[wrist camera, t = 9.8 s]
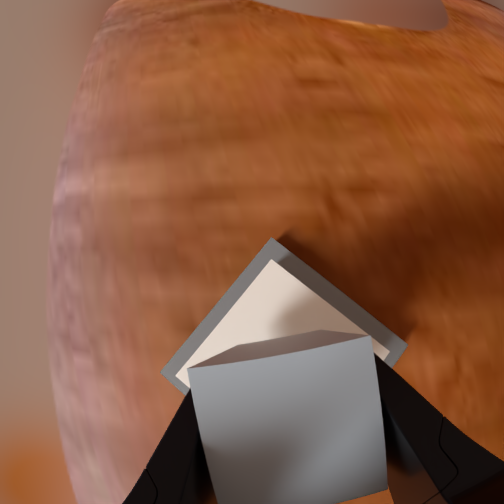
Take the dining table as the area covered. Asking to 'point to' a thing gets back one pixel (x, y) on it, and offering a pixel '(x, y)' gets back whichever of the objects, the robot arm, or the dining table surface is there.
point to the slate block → (292, 420)
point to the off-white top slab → (273, 317)
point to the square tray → (308, 279)
